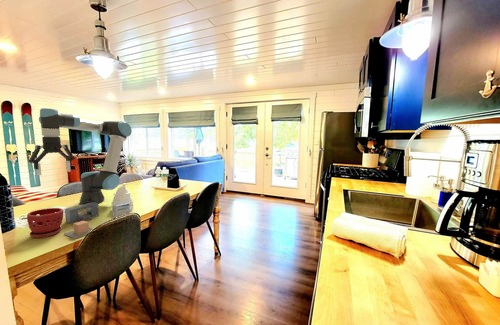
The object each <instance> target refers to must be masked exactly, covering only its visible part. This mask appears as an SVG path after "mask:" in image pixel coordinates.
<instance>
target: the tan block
mask: <svg viewBox="0 0 500 325" xmlns="http://www.w3.org/2000/svg"><path fill="white" fill-rule="evenodd" d="M72 224H73V231H74V233H76V234H78V235H80V234H83V233H85V232H88V231H89V227H90V226H89V224H90V223H89V221H81V220H79V221H78V222H75V223H72Z"/></svg>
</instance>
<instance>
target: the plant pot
mask: <svg viewBox="0 0 500 325" xmlns="http://www.w3.org/2000/svg"><path fill="white" fill-rule="evenodd" d="M63 219H64V209H63V208H60V207H47V208H40V209H37V210H32V211H29V212H28V213H27V214H26V220H27V221H26V222H27V224H28V225H27V226H28V228H29V230H30V232H29V236H30V237H31V238H35V239H38V238H39V239H40V238H47V237H50V236H54V235H56V234H58V233H59V232H61V231H62V227H61V226H62V223H63Z"/></svg>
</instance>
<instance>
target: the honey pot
mask: <svg viewBox="0 0 500 325" xmlns="http://www.w3.org/2000/svg"><path fill="white" fill-rule="evenodd" d="M127 185H128V183H127V182H124V183H122V185H120V186H119V187H118V188H117V190H116V192H114V193H113V198H112V201H111V212H112V213H113V206H114V205H118V204H122V203H129V205H130V211H133V210H134V200H133V198H132V196H131V193H132V192H131V191H130V190H128V188H127V187H126V186H127Z"/></svg>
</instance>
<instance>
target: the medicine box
mask: <svg viewBox="0 0 500 325" xmlns="http://www.w3.org/2000/svg"><path fill="white" fill-rule="evenodd" d="M130 211H131V210H130V205H129V203H122V204H118V205H114V206H113V212H112V214H113V215H112V217H113V218H116V217H119V216H122V215H125V214H129V213H130V214H131V212H130Z"/></svg>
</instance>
